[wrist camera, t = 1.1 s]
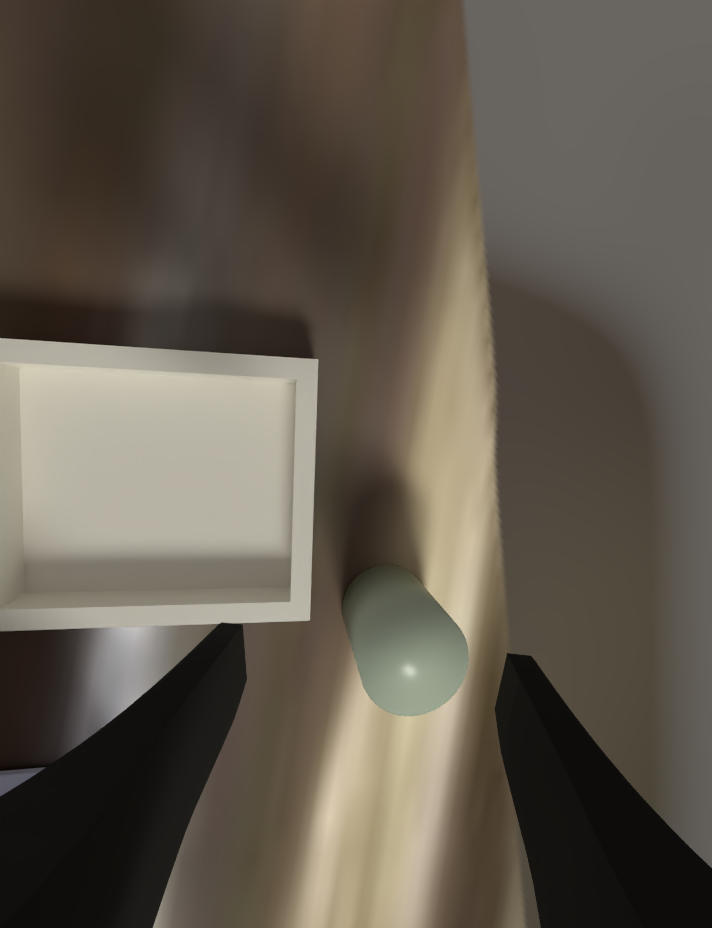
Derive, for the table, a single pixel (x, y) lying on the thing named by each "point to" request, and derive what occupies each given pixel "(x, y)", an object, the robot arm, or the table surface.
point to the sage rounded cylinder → (403, 642)
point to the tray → (154, 486)
